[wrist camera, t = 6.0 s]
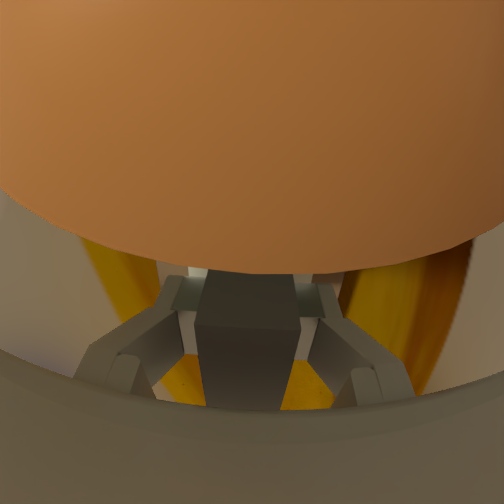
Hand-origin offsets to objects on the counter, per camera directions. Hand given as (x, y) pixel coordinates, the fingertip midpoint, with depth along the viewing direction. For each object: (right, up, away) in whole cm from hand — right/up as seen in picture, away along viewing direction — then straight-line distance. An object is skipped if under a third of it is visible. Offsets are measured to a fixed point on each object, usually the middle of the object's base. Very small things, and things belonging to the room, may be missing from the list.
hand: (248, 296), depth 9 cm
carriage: (0, +2, +4) cm, 5 cm away
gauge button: (0, +6, -5) cm, 8 cm away
